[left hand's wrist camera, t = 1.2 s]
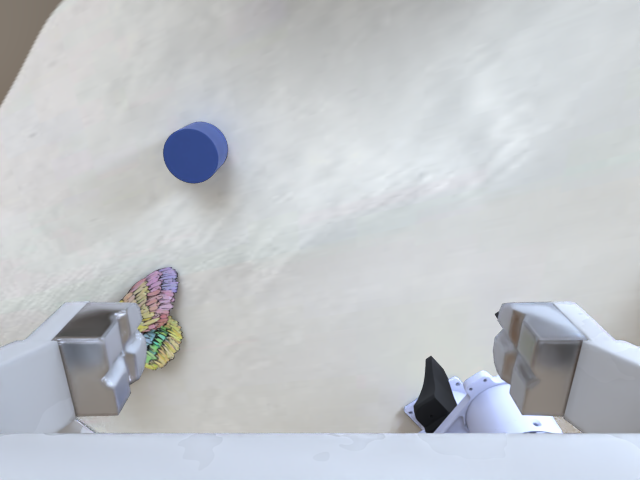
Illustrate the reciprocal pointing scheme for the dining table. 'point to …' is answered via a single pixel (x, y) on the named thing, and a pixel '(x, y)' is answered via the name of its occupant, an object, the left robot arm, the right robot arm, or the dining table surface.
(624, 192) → the dining table surface
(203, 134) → the canister
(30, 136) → the dining table surface
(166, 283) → the butterfly
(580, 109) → the dining table surface
